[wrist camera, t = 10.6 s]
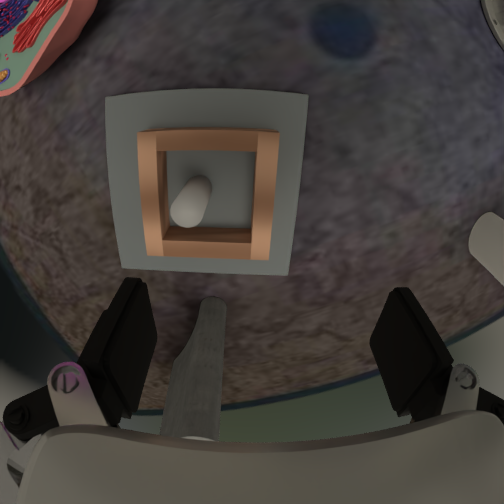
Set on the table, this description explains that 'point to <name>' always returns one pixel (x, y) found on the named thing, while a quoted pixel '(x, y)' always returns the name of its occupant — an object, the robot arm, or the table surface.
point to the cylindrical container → (489, 244)
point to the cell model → (37, 36)
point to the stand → (205, 171)
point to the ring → (206, 238)
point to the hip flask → (198, 378)
